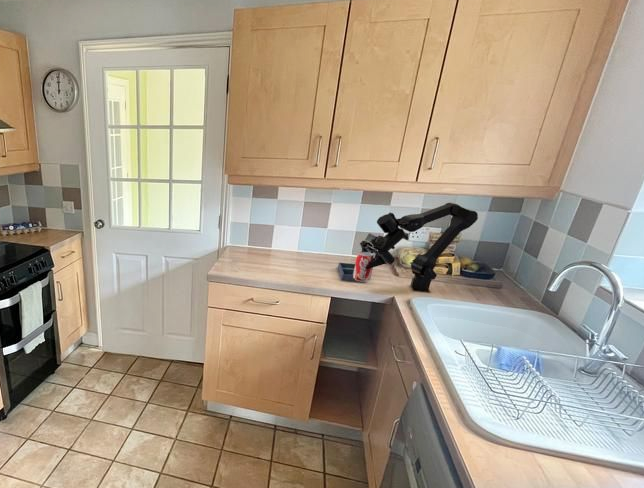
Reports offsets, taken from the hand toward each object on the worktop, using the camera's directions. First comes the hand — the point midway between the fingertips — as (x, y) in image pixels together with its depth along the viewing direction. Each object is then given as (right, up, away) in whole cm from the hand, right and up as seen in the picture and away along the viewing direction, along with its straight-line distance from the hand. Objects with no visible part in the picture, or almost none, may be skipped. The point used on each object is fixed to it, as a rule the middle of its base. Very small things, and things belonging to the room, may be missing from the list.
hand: (360, 265), depth 180 cm
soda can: (+1, -6, +3) cm, 7 cm away
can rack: (+7, -2, +25) cm, 26 cm away
